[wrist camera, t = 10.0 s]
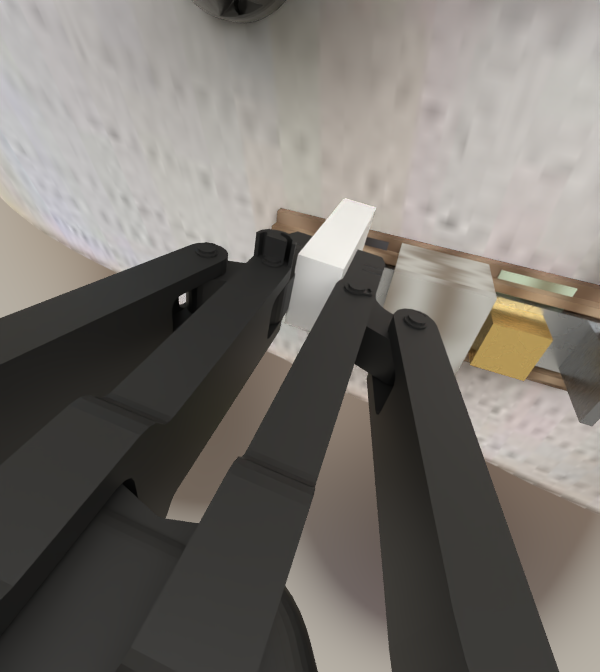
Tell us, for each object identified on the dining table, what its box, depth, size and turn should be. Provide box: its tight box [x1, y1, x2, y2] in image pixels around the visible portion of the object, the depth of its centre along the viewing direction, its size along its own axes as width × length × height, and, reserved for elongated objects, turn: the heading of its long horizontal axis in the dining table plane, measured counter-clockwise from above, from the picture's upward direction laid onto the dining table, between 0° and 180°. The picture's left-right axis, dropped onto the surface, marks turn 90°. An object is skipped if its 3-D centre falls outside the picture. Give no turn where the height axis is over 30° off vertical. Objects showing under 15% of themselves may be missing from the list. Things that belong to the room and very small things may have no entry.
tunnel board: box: [272, 208, 600, 391], centre depth 43 cm, size 42×14×10 cm, turn 82°
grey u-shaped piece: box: [376, 265, 600, 426], centre depth 41 cm, size 30×8×10 cm, turn 82°
